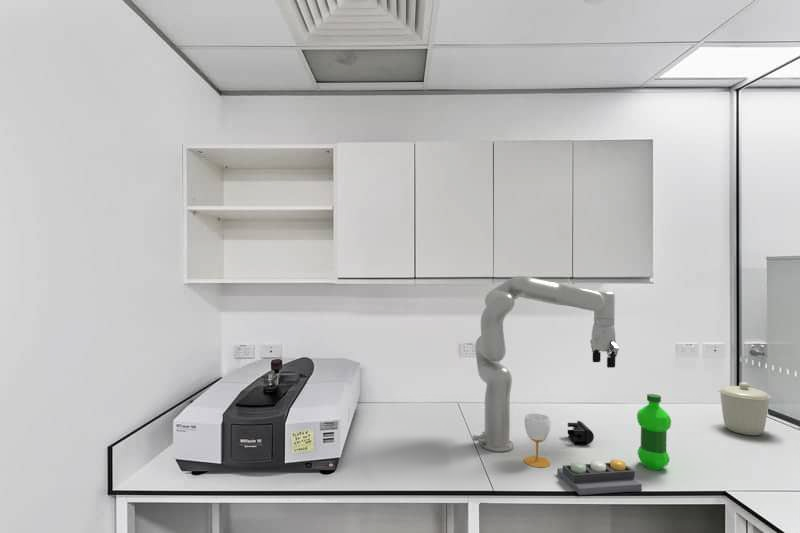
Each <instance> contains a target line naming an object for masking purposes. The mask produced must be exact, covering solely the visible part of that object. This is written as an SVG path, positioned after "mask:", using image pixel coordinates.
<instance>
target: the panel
mask: <svg viewBox="0 0 800 533" xmlns="http://www.w3.org/2000/svg"><path fill="white" fill-rule="evenodd" d="M604 463H605V464H606V472H597V473H595V472H594V471H593V470H591V463H584V464H585V465H586V473H582V474H574V473H573V472H572V471H571V464H567V465H565V464H564V465H562V467H560V468H559V467H558V468H556V469H557V471H556V473H557V474H556V475H557V476H558V477H559V478H561V479H562V480H563V481H564V482H565V483H566V484H567V485H568V486H569V487H570V488H571V489H572V490H574V491H575V492H576V493H577V494H578V495H579V496H587V495H598V494H613V493H625V492H626V493H627V492H638V491H639V492H640V491H641V492H642V490H643V488H642V486H643V484H642V482H640V481H638V480H637V479H635V477H636V476H635V474H636V473H635V470H633V469H632V468H630V467H629V466H628V465H626V471H614V470H613V469H612V468H610V462H604Z"/></svg>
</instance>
